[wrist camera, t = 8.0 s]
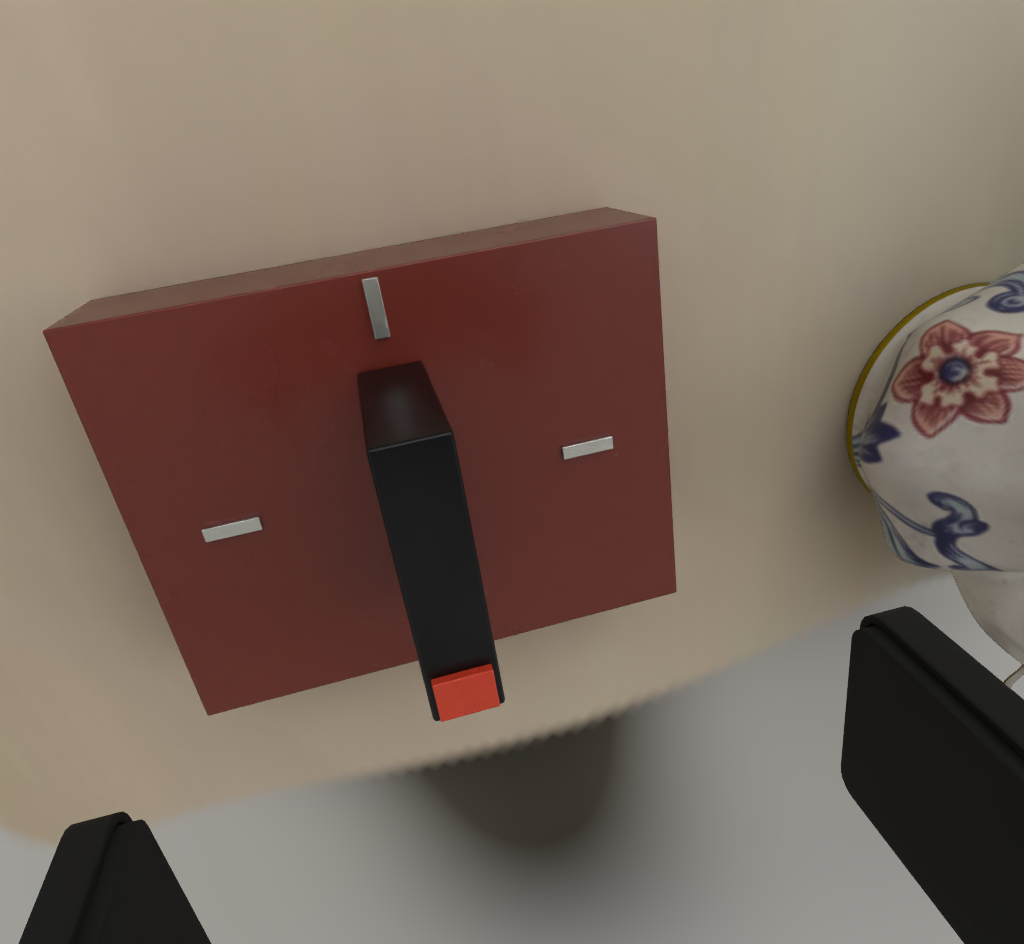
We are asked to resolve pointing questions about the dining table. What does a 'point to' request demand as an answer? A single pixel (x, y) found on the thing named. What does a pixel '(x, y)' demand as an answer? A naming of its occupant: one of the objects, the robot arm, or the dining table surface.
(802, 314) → the dining table surface
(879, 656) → the robot arm
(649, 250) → the rotary switch block
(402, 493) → the black rectangular block
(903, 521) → the chinaware
